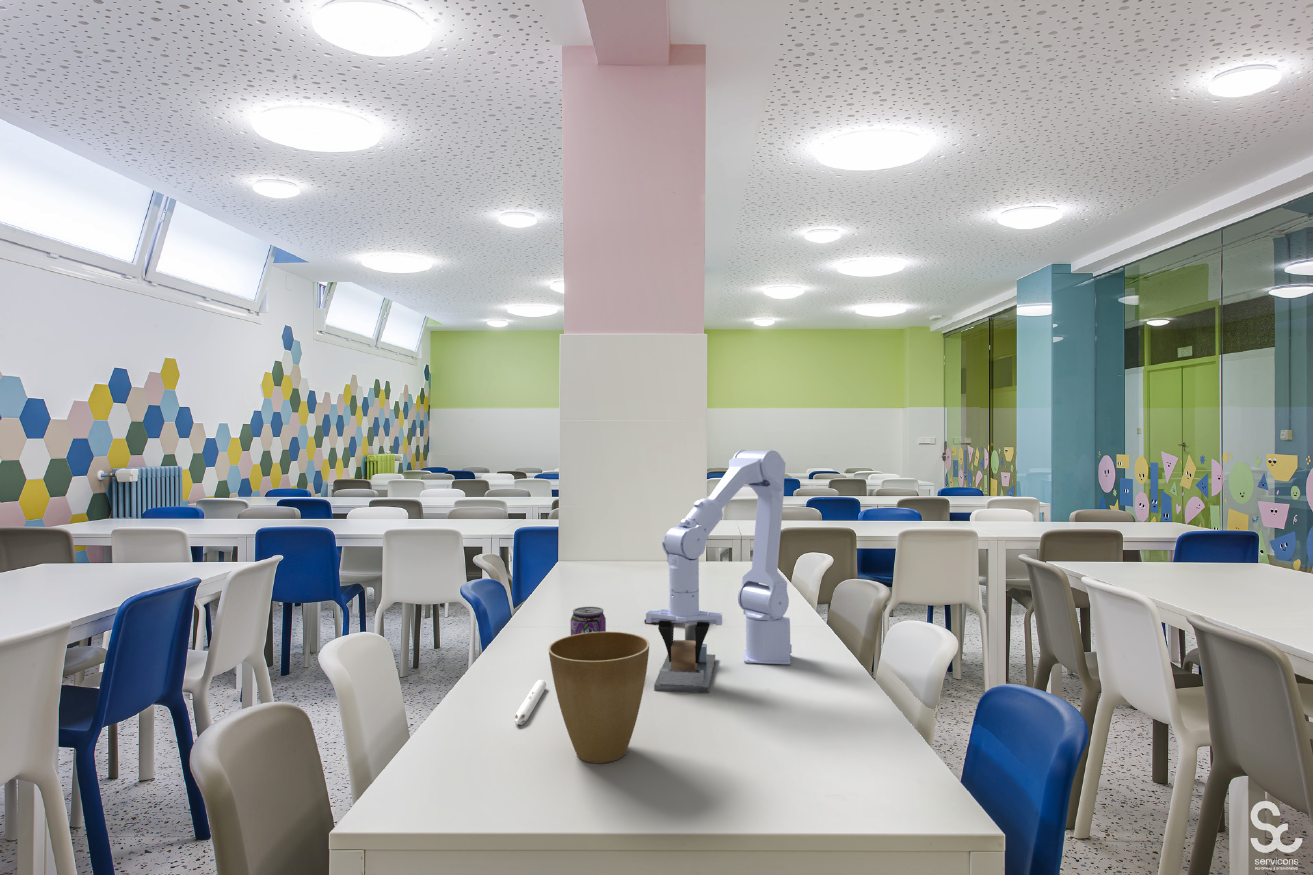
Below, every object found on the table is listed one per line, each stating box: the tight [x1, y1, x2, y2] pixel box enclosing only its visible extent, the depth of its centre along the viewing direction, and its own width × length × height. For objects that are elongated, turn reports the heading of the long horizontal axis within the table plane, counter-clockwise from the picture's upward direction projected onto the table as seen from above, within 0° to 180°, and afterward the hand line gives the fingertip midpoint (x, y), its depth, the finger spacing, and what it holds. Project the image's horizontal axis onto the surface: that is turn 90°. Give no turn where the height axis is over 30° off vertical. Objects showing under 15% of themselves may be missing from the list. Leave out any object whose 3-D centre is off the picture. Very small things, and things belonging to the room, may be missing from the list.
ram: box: [684, 623, 708, 662], centre depth 145 cm, size 6×7×6 cm
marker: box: [513, 679, 547, 726], centre depth 122 cm, size 18×2×2 cm, turn 177°
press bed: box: [653, 653, 716, 694], centre depth 139 cm, size 20×10×4 cm, turn 171°
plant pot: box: [547, 631, 650, 764], centre depth 104 cm, size 15×15×16 cm
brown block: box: [671, 639, 697, 670], centre depth 135 cm, size 4×4×5 cm
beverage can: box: [570, 606, 607, 636], centre depth 142 cm, size 7×7×12 cm
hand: (684, 660), depth 135 cm, fingers closed on brown block, 4 cm apart
